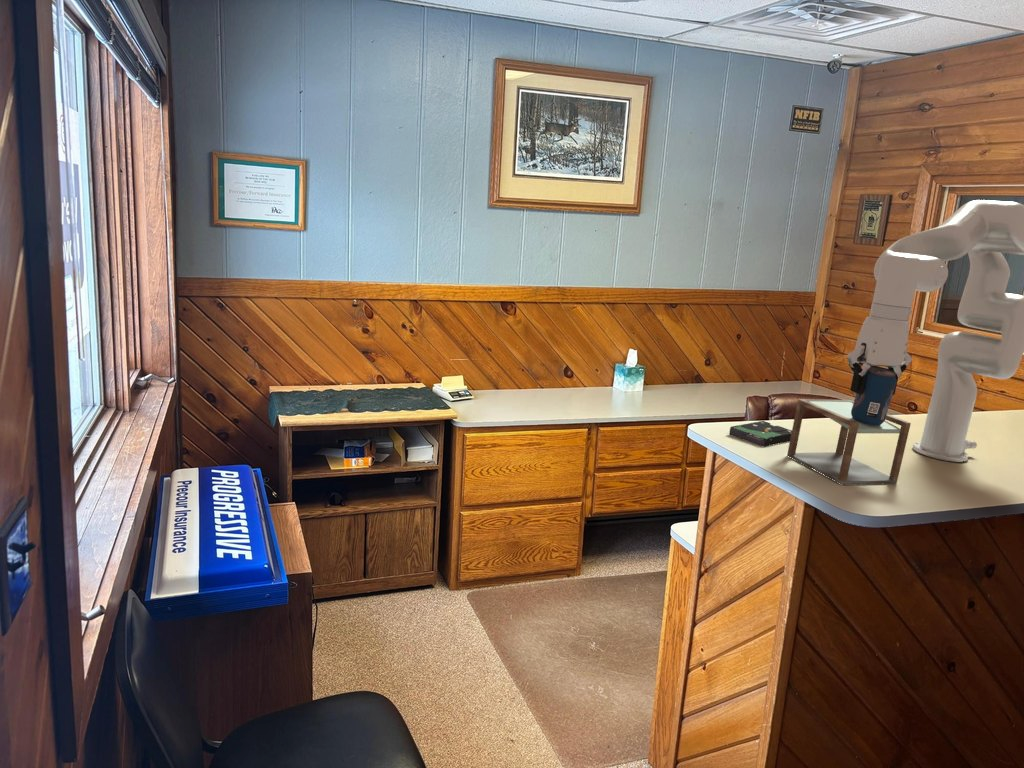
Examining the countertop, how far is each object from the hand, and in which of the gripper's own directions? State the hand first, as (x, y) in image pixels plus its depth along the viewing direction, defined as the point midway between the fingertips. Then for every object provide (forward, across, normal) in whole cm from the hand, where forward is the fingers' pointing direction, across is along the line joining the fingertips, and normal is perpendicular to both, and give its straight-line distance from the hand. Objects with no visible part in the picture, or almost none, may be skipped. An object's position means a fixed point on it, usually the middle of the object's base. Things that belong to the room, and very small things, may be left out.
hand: (872, 392), depth 165 cm
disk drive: (+20, +4, -28) cm, 34 cm away
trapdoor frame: (+19, 0, -4) cm, 20 cm away
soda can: (+7, 0, 0) cm, 7 cm away
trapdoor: (+7, 0, -4) cm, 8 cm away
